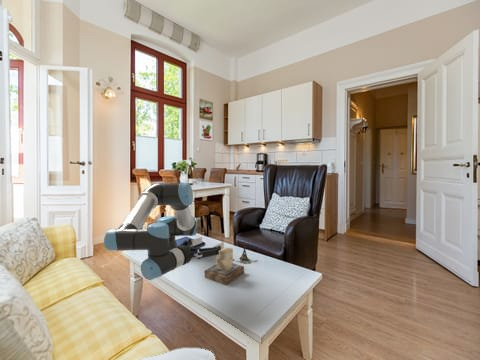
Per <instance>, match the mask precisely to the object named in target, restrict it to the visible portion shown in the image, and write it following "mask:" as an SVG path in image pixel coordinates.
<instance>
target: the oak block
mask: <svg viewBox="0 0 480 360" xmlns="http://www.w3.org/2000/svg"><path fill="white" fill-rule="evenodd" d="M233 256H234V249H233V248H232V247H227V246H224V248H223V249H221V250H219V255H216V264H217V269H220V270H223V271H227V270H229V269H230V268H232V267H233V263H234V261H233V259H234V258H233Z"/></svg>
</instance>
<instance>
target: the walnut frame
mask: <svg viewBox="0 0 480 360" xmlns="http://www.w3.org/2000/svg"><path fill="white" fill-rule="evenodd" d="M244 273H245V266H244V265H241V264H237V263H234V262H233V267H232V268H230V269H229V270H227V271H223V270H220V269H217V263H216V264H214V265H213V266H211V267H209V268H207V269H205V270H204V278H205V279H208V280H211V281H213V282H217V283H219V284H222V285H224V286H228V285H229V284H230V283H232V282H233V281H235V280H236V279H238V278H239V277H240V276H242V275H243V274H244Z"/></svg>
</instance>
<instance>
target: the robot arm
mask: <svg viewBox="0 0 480 360" xmlns="http://www.w3.org/2000/svg"><path fill="white" fill-rule="evenodd" d="M193 201H194V193H193V188H192V185H191V184H189V183H188V182H158V183H155V184H152V185H150V186H149V187H148V186H147V188H145V189H144V190H142V192H141V193H140V194H138V198H137V202H136V204H134V206H133V207H132V209H131V210H130V212H129V213H128V214H127V216H126V217H125V218H124V220H123V221H122V223H121V225H119V227H118V228H114V229H109V230H107V231H106V233H105V235H104V239H103V244H104V248H105V249H106V250H108V251H116V252H119V251H120V252H121V251H123V252H124V251H147V258H145V259H144V260H143V261H142V262H141V264H140V271H141V272H140V273H141V275H142V277H143V278H144V279H145V280H147V281H152V280H155V279H158V278H160V277H162V276H163V275H165V274H168V273H169V272H171V271H174V270H175V269H178V268H181V267H182V266H185V265H186V264H188V263H190V261H192V259H193V258H196V257H197V260H202V259H204V258H208V257H209V258H210V257H214V256H217V255H219V250H221V249H223V248H224V247H225V242H220V243H218V244H216V245H213V247H211V246H210V247H195V246H197V245H200V244H202V243H203V237H201V236H200V237H197V238H194V239H191V238H189V239H185V240H184V241H183V242H182V243H180V244H179V245H178V243H177V240H176V237H186V236H188V237H194V236H196V235H197V233H198V218H197V217H194V216H193V215H192V213H191V209H190V207H191V205H192V204H193ZM157 206H169V207H170V208H171V209H172V210H174V212H175V215H166V216H163V217H160V218H158V219H157V222H153V223H149V224H148V225H147V228H143V227H144V225H145V223H146V222H147V220H148V218H149V217H150V215H151V213H152V211H153V210H154V209H155V208H157Z"/></svg>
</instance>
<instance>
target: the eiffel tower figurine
mask: <svg viewBox="0 0 480 360" xmlns="http://www.w3.org/2000/svg"><path fill="white" fill-rule="evenodd" d="M238 259H239V260H235V259H234V258H233V262H236V263H240V264H243V265H250V264H252V261H250V259H249V257H248V254H247V251H246V241H245V240H244V242H243V251H242V254H241V255H240V257H239V258H238ZM253 262H254V263H256V262H258V259H256V260H253Z"/></svg>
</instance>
